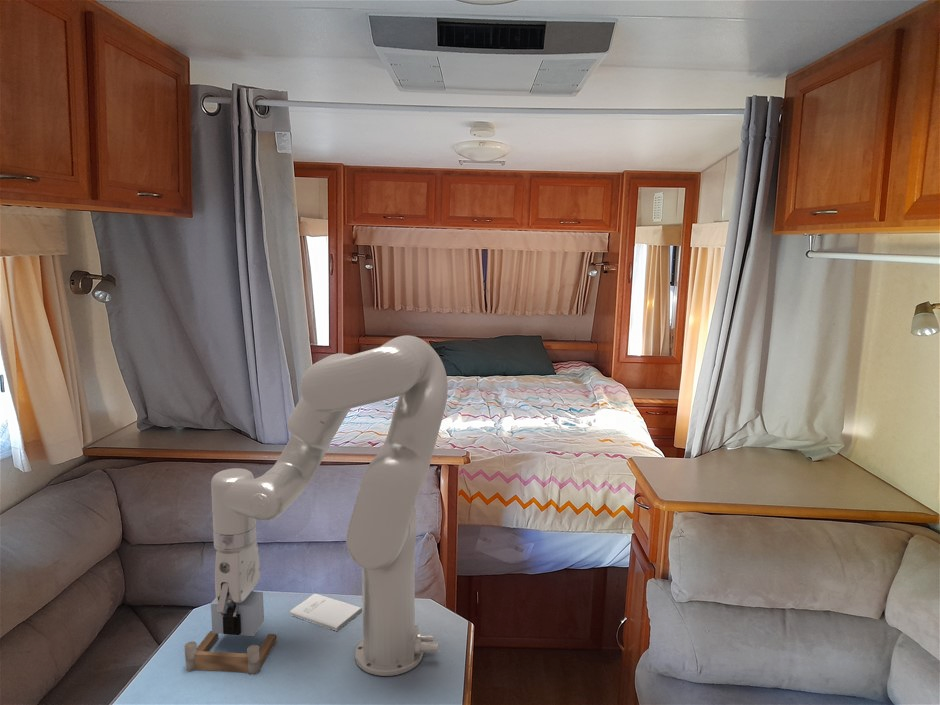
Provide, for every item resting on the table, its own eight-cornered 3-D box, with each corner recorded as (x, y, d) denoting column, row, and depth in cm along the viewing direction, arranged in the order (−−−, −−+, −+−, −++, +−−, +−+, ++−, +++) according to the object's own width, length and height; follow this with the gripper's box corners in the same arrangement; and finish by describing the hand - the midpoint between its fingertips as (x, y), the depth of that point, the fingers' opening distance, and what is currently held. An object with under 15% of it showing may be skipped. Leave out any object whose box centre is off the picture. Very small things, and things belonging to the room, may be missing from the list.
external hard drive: (337, 634, 131) (289, 617, 136) (362, 614, 138) (315, 598, 143) (336, 627, 130) (289, 610, 136) (362, 606, 137) (315, 591, 143)
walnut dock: (277, 641, 127) (276, 619, 126) (257, 674, 117) (256, 651, 117) (209, 637, 128) (208, 616, 127) (183, 670, 118) (182, 647, 118)
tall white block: (264, 620, 128) (262, 592, 127) (253, 635, 123) (252, 606, 122) (223, 618, 129) (222, 589, 128) (212, 633, 124) (210, 603, 123)
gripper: (235, 558, 114) (239, 654, 117) (271, 517, 131) (274, 602, 134) (193, 556, 115) (198, 651, 118) (234, 515, 132) (238, 600, 135)
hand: (238, 624), depth 126 cm, fingers closed on tall white block, 5 cm apart
